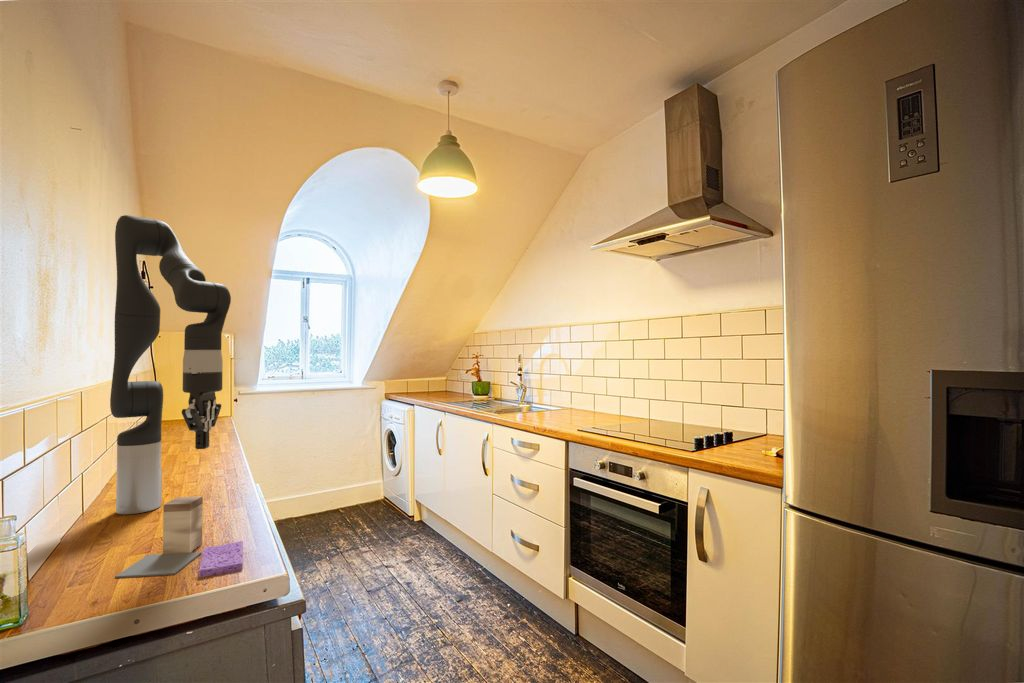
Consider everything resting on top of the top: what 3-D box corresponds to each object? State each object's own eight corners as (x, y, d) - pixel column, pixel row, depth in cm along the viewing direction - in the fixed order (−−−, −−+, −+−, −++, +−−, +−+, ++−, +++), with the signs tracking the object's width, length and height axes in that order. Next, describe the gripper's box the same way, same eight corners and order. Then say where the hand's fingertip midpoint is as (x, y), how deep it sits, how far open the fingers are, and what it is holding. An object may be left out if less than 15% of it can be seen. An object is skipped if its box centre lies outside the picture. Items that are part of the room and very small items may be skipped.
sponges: (198, 580, 88) (198, 570, 88) (203, 555, 99) (203, 546, 99) (243, 572, 91) (243, 562, 91) (243, 548, 102) (243, 539, 102)
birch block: (176, 545, 103) (177, 497, 103) (202, 544, 103) (202, 496, 104) (162, 554, 98) (163, 504, 98) (189, 553, 99) (190, 503, 99)
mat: (147, 556, 97) (147, 554, 97) (201, 553, 98) (201, 552, 98) (115, 577, 88) (115, 576, 88) (175, 574, 89) (175, 572, 89)
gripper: (200, 370, 115) (199, 443, 115) (167, 371, 102) (166, 455, 102) (233, 369, 116) (233, 442, 116) (206, 371, 103) (205, 453, 103)
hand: (202, 448), depth 109 cm, fingers closed
